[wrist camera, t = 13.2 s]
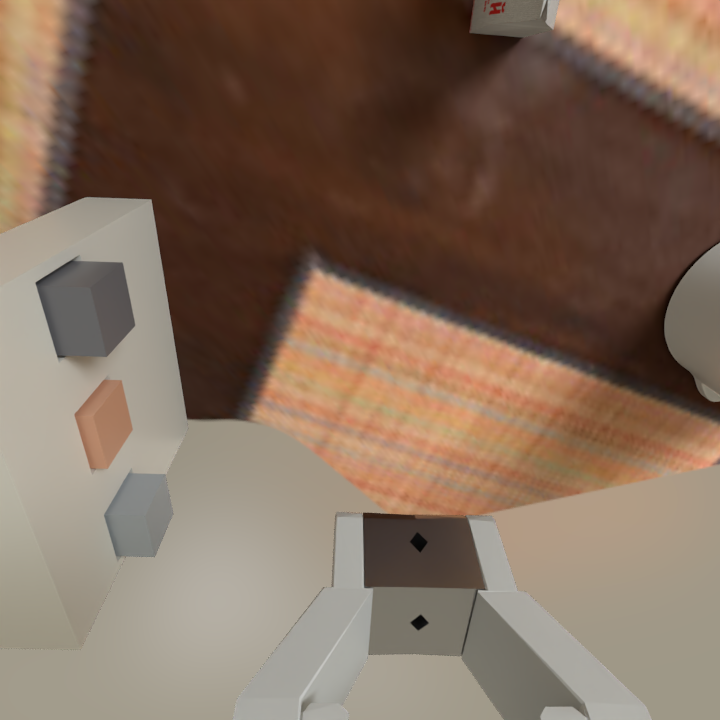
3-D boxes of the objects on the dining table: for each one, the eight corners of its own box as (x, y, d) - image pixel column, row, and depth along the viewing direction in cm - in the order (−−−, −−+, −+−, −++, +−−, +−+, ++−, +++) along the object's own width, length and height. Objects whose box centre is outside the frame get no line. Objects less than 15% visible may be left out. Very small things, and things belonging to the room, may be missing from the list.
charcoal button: (122, 262, 29) (90, 287, 25) (135, 325, 31) (107, 357, 27) (52, 260, 29) (10, 285, 25) (69, 323, 31) (32, 354, 27)
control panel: (151, 199, 39) (-53, 317, 19) (188, 428, 49) (80, 649, 30) (86, 197, 39) (-184, 313, 19) (137, 427, 49) (-4, 648, 30)
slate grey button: (165, 474, 37) (145, 515, 33) (173, 513, 39) (154, 556, 35) (110, 472, 36) (83, 514, 33) (120, 512, 38) (97, 555, 35)
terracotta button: (121, 380, 33) (93, 416, 29) (132, 429, 35) (107, 468, 31) (59, 378, 33) (23, 414, 29) (74, 428, 34) (42, 467, 31)
